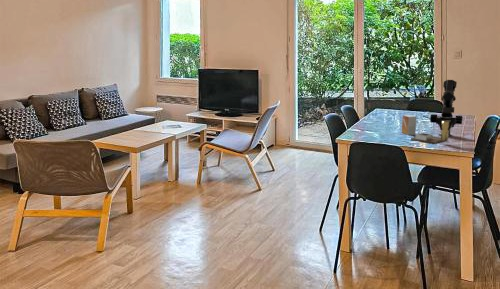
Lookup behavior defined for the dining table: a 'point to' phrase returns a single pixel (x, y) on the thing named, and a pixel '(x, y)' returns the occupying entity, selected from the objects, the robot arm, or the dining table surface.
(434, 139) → the cabinet panel
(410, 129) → the small box
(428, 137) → the hinge clip
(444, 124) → the hinge pin
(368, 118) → the dining table surface
